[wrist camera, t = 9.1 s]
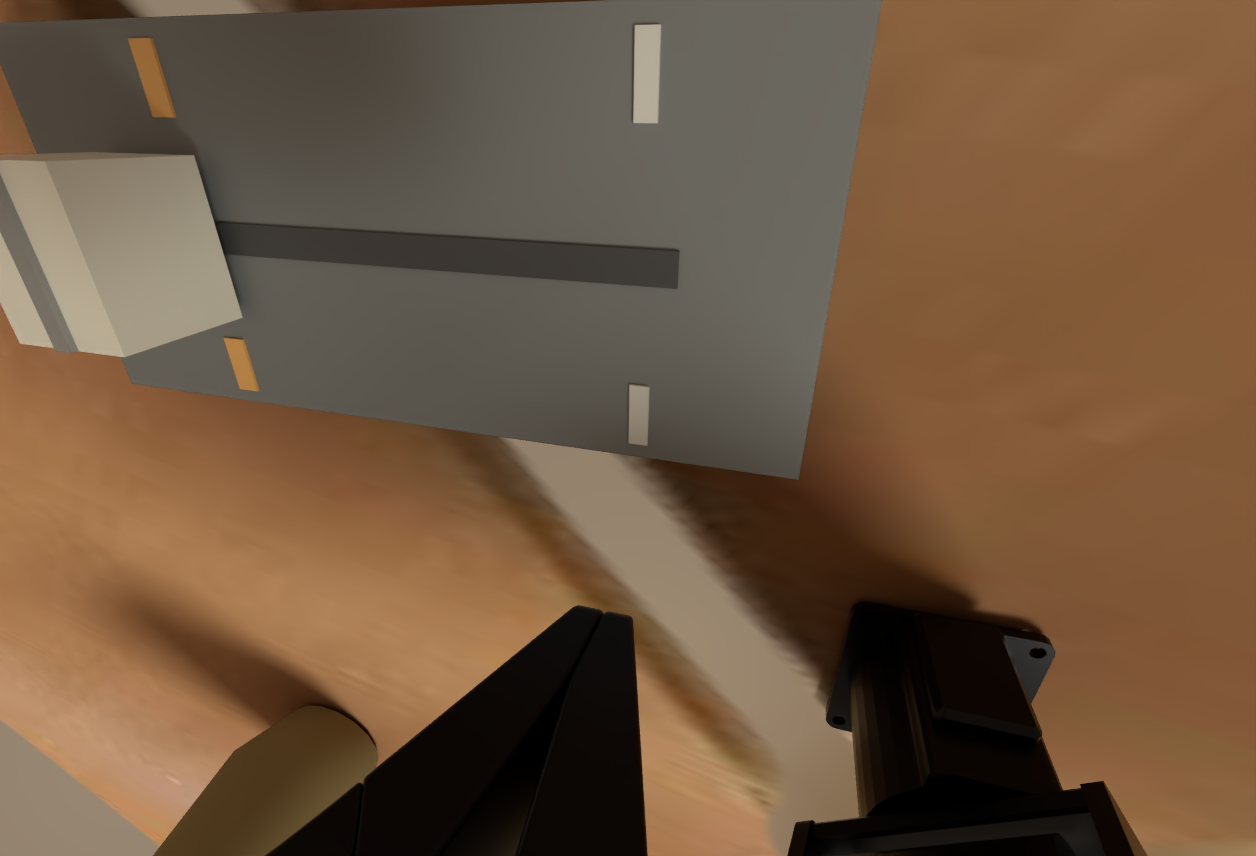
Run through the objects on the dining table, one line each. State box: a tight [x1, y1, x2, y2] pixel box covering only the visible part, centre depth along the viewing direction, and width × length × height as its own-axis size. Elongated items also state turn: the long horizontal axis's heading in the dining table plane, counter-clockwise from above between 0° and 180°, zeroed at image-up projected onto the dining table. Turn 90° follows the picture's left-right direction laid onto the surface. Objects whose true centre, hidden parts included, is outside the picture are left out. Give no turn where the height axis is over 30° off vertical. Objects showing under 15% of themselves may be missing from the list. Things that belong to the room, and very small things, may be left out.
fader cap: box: [0, 152, 243, 357], centre depth 17 cm, size 5×4×4 cm
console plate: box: [0, 0, 882, 480], centre depth 19 cm, size 12×26×2 cm, turn 89°
